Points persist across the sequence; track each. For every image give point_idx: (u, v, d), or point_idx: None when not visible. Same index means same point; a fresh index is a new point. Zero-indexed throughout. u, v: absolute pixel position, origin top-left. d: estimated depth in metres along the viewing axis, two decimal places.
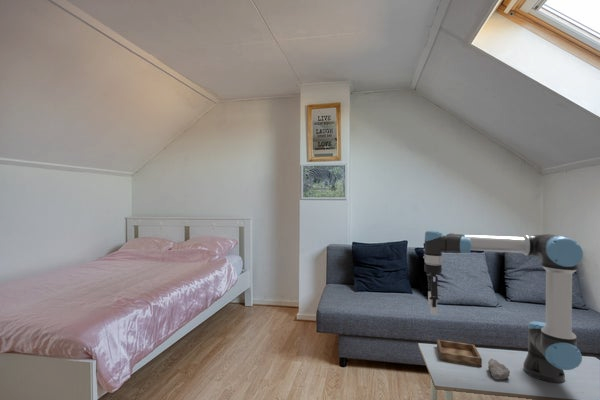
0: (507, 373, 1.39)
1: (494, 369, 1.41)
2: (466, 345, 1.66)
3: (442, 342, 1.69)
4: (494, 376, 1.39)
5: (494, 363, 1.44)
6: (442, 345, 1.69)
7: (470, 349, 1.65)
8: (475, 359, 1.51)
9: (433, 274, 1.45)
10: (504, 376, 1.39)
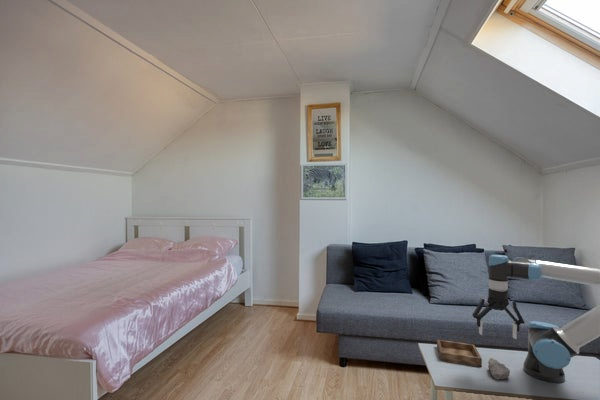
0: (507, 373, 1.39)
1: (494, 369, 1.41)
2: (466, 345, 1.66)
3: (442, 342, 1.69)
4: (494, 376, 1.40)
5: (494, 363, 1.44)
6: (442, 345, 1.69)
7: (470, 349, 1.65)
8: (475, 359, 1.51)
9: (488, 297, 1.45)
10: (504, 376, 1.39)
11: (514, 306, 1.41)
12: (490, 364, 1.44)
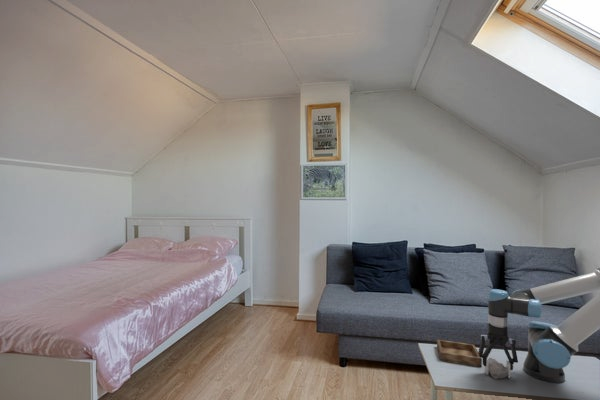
0: (505, 372, 1.39)
1: (493, 368, 1.41)
2: (466, 345, 1.66)
3: (442, 342, 1.69)
4: (493, 375, 1.40)
5: (493, 362, 1.44)
6: (442, 345, 1.69)
7: (470, 349, 1.65)
8: (475, 359, 1.51)
9: None
10: (502, 375, 1.40)
11: (513, 344, 1.40)
12: None
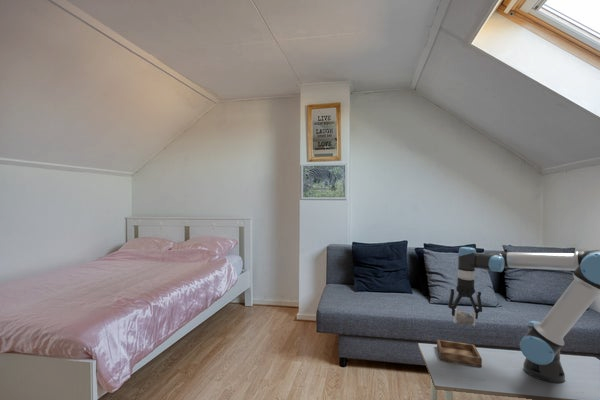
0: (471, 320, 1.54)
1: (460, 317, 1.56)
2: (466, 345, 1.66)
3: (442, 342, 1.69)
4: (459, 323, 1.55)
5: (460, 312, 1.59)
6: (442, 345, 1.69)
7: (470, 349, 1.65)
8: (475, 359, 1.51)
9: None
10: (468, 323, 1.54)
11: (478, 295, 1.55)
12: (457, 313, 1.59)
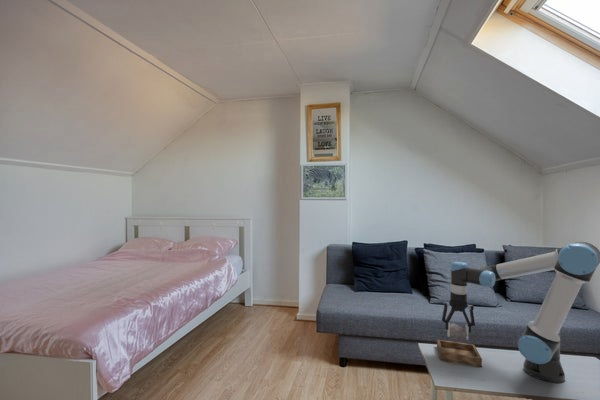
0: (464, 334, 1.57)
1: (453, 331, 1.59)
2: (466, 345, 1.66)
3: (442, 342, 1.69)
4: (453, 336, 1.58)
5: (454, 326, 1.62)
6: (442, 345, 1.69)
7: (470, 349, 1.65)
8: (475, 359, 1.51)
9: None
10: (461, 336, 1.58)
11: (471, 309, 1.58)
12: (450, 327, 1.62)
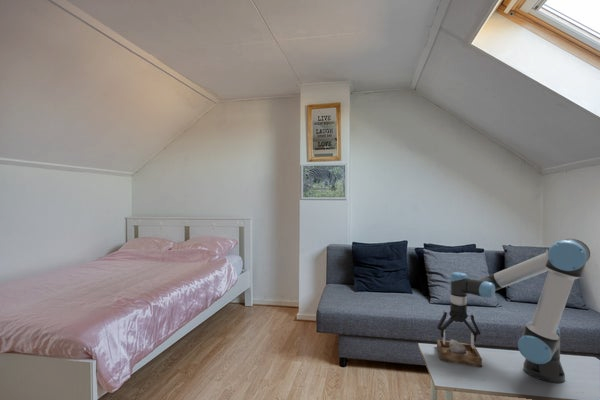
0: (463, 351, 1.57)
1: (453, 348, 1.59)
2: (466, 345, 1.66)
3: (442, 342, 1.69)
4: None
5: (453, 342, 1.62)
6: (442, 345, 1.69)
7: (470, 349, 1.65)
8: (475, 359, 1.51)
9: (450, 310, 1.62)
10: (461, 353, 1.57)
11: (472, 319, 1.58)
12: (450, 344, 1.62)
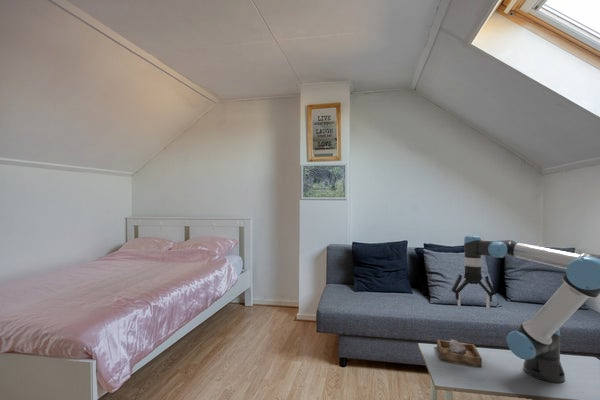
0: (464, 351, 1.57)
1: (453, 347, 1.59)
2: (466, 345, 1.66)
3: (442, 342, 1.69)
4: None
5: (453, 342, 1.62)
6: (442, 345, 1.69)
7: (470, 349, 1.65)
8: (475, 359, 1.51)
9: (465, 273, 1.64)
10: (461, 353, 1.57)
11: (487, 280, 1.60)
12: (450, 343, 1.62)
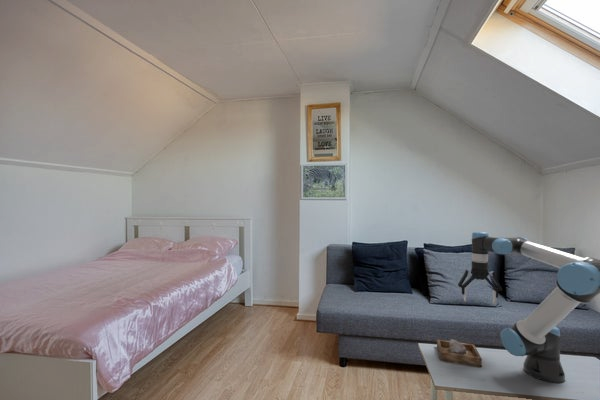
0: (464, 350, 1.57)
1: (453, 347, 1.59)
2: (466, 345, 1.66)
3: (442, 342, 1.69)
4: None
5: (453, 342, 1.62)
6: (442, 345, 1.69)
7: (470, 349, 1.65)
8: (475, 359, 1.51)
9: None
10: (461, 353, 1.57)
11: (493, 276, 1.62)
12: (450, 343, 1.62)
